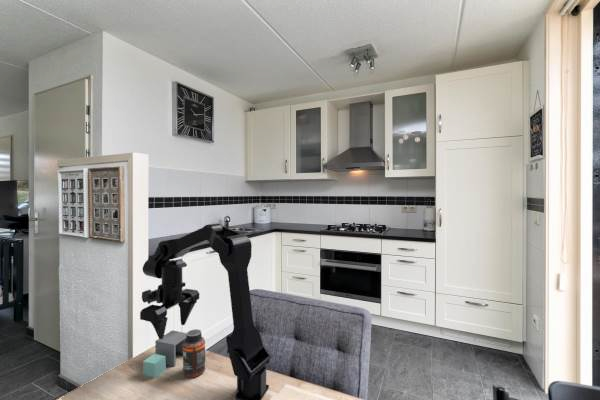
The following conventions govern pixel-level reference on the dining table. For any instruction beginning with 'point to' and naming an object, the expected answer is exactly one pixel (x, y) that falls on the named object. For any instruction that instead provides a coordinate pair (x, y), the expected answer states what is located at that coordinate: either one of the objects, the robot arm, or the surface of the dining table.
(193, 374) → the supplement bottle
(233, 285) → the robot arm
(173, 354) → the grey arch block
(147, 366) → the cube
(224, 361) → the dining table surface
